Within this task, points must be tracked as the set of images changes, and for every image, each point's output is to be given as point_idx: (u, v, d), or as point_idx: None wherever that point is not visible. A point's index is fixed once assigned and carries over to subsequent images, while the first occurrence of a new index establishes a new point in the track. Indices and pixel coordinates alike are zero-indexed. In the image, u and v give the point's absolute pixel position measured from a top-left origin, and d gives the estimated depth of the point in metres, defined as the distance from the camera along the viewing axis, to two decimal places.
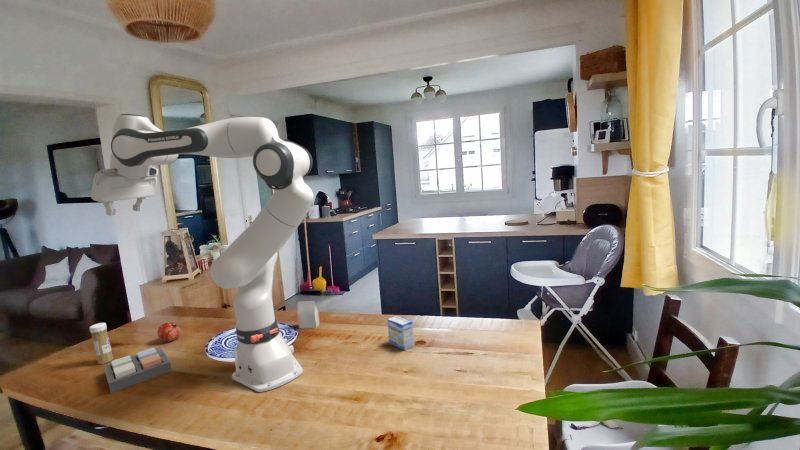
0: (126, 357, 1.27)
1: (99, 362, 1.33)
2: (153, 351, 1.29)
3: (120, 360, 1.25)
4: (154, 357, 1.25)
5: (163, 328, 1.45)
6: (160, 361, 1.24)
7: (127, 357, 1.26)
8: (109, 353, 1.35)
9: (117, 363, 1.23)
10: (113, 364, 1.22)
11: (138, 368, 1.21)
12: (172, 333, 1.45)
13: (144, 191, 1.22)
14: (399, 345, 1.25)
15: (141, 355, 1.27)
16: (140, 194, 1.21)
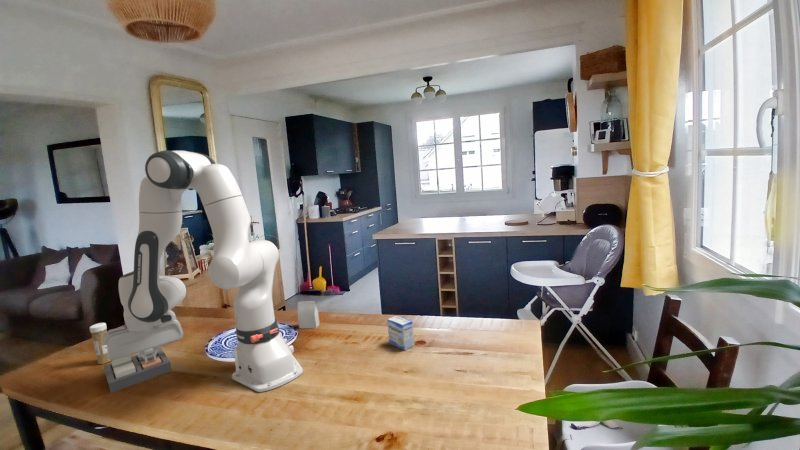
0: (126, 357, 1.27)
1: (99, 362, 1.33)
2: None
3: (120, 360, 1.25)
4: None
5: None
6: None
7: (127, 357, 1.26)
8: None
9: (117, 363, 1.23)
10: (113, 364, 1.22)
11: (138, 368, 1.21)
12: None
13: (165, 337, 1.25)
14: (399, 345, 1.25)
15: None
16: (161, 342, 1.24)
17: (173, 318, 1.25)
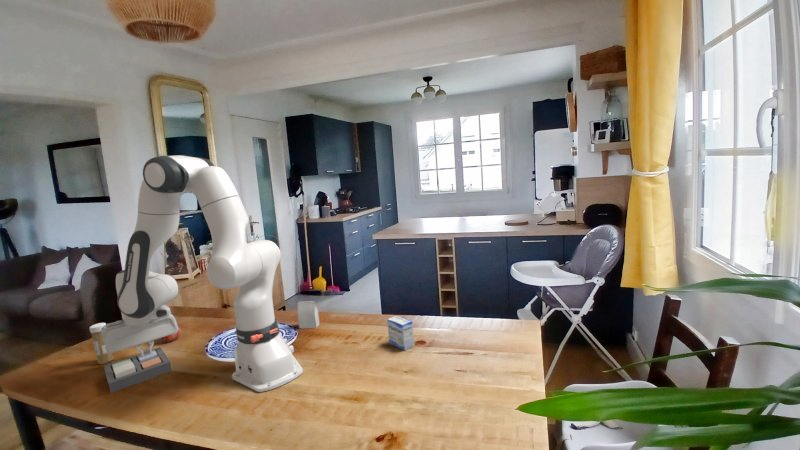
0: (127, 360, 1.27)
1: (99, 362, 1.33)
2: (154, 354, 1.29)
3: (121, 363, 1.25)
4: (155, 360, 1.25)
5: None
6: None
7: (128, 360, 1.27)
8: (109, 353, 1.35)
9: (117, 366, 1.23)
10: None
11: (138, 368, 1.21)
12: None
13: (161, 331, 1.30)
14: (399, 345, 1.25)
15: (142, 358, 1.27)
16: (156, 335, 1.29)
17: (168, 313, 1.30)
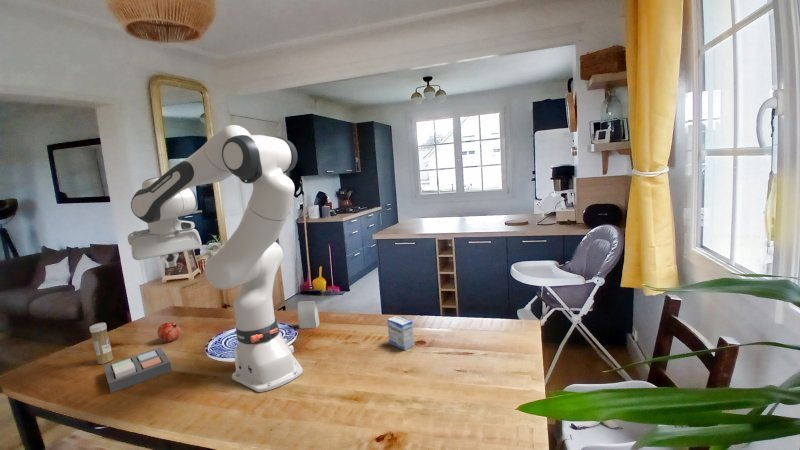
0: (127, 360, 1.27)
1: (99, 362, 1.33)
2: (154, 354, 1.29)
3: (121, 363, 1.25)
4: (155, 360, 1.25)
5: (163, 328, 1.45)
6: None
7: (128, 360, 1.27)
8: (109, 353, 1.35)
9: (117, 366, 1.23)
10: None
11: (138, 368, 1.21)
12: (172, 333, 1.45)
13: (185, 245, 1.32)
14: (399, 345, 1.25)
15: (142, 358, 1.27)
16: (181, 248, 1.31)
17: (192, 226, 1.32)
